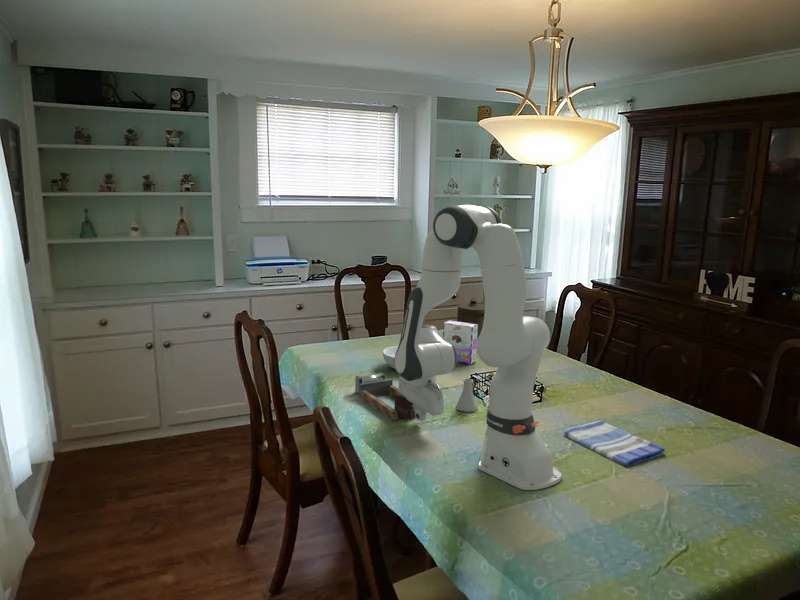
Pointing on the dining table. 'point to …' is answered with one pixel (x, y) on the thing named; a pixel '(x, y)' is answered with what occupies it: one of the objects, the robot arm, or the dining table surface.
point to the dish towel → (614, 443)
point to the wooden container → (472, 314)
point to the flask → (467, 398)
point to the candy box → (462, 339)
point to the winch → (367, 380)
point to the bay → (379, 388)
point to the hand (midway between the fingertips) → (419, 419)
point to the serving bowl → (390, 355)
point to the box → (404, 407)
